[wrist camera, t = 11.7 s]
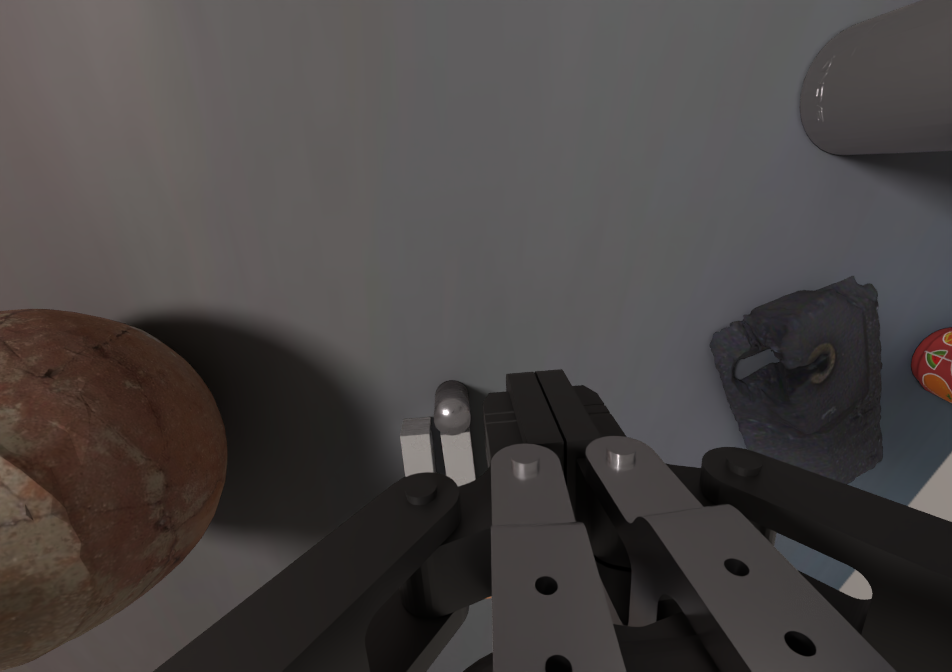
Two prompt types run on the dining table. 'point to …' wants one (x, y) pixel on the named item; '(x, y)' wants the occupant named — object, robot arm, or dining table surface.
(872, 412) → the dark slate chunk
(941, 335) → the smoothie
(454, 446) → the tong arm
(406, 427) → the base
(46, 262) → the dining table surface
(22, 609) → the jug
